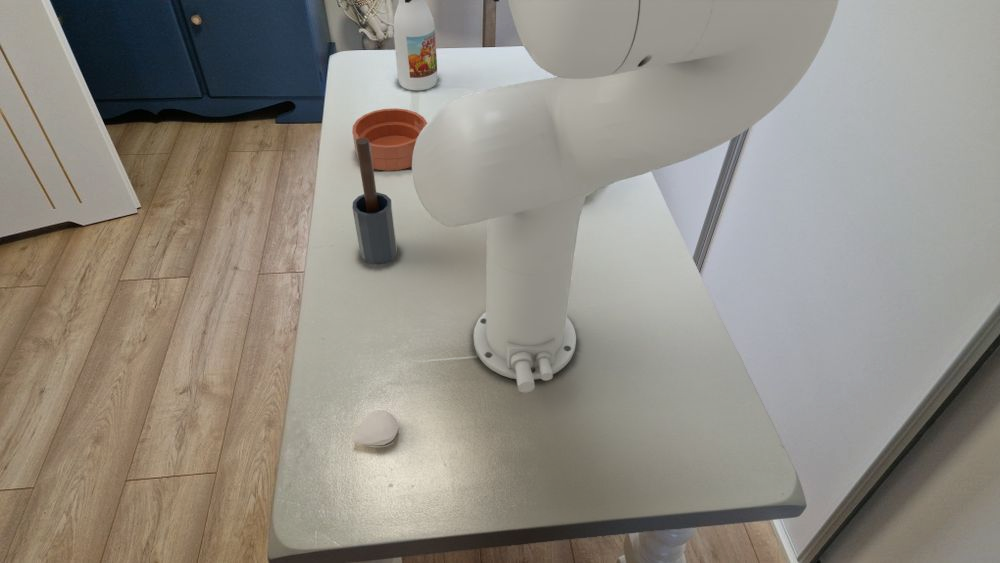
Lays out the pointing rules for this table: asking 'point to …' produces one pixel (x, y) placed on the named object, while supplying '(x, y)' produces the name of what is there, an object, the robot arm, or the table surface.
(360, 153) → the stick
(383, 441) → the grey pebble
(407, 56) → the milk bottle
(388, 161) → the bowl
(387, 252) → the pot
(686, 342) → the table surface
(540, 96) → the robot arm
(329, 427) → the table surface
